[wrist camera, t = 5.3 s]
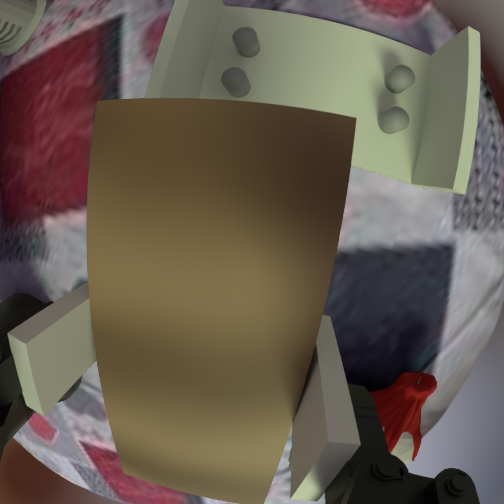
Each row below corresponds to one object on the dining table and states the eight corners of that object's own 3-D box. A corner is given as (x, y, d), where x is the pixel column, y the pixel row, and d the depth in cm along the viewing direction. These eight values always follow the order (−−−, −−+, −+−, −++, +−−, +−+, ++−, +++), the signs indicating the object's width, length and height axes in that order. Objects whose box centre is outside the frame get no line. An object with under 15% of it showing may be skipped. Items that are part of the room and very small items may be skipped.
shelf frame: (176, 129, 24) (133, 114, 16) (210, 8, 20) (184, -38, 13) (423, 189, 22) (471, 196, 15) (442, 64, 19) (485, 35, 12)
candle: (282, 435, 30) (363, 328, 27) (360, 460, 30) (438, 367, 27) (283, 495, 21) (395, 374, 18) (375, 513, 21) (478, 410, 18)
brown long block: (268, 450, 15) (262, 506, 11) (149, 424, 15) (123, 473, 11) (333, 136, 10) (356, 118, 7) (152, 119, 11) (97, 101, 7)
